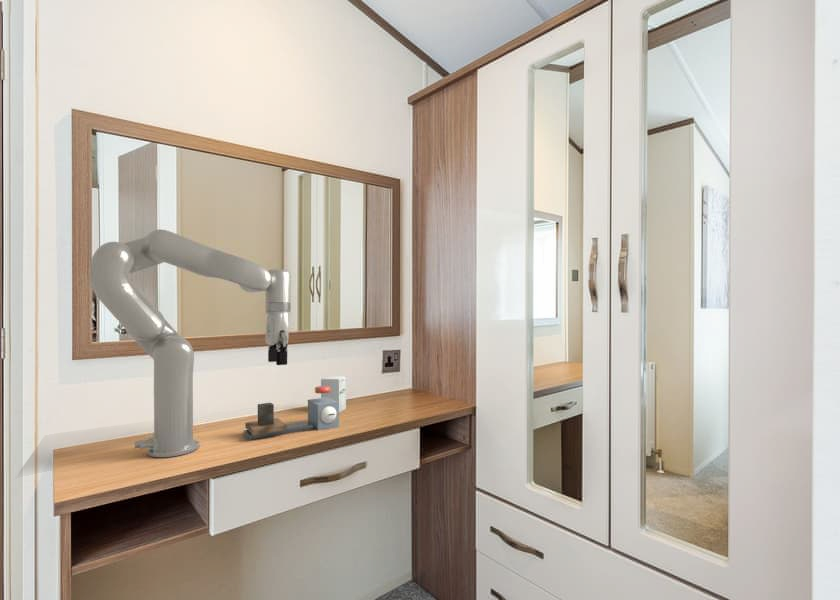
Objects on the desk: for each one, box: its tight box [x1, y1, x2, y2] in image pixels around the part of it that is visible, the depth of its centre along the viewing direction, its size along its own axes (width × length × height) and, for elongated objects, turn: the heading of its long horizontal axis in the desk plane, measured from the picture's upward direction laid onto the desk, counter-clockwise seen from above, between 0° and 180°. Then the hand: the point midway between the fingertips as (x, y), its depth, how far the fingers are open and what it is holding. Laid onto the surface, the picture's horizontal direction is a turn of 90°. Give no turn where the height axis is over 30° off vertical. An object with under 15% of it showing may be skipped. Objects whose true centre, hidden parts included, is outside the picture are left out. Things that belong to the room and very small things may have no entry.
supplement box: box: [320, 375, 347, 414], centre depth 168 cm, size 7×7×13 cm
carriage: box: [244, 402, 287, 435], centre depth 138 cm, size 10×10×8 cm
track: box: [242, 420, 314, 441], centre depth 140 cm, size 20×6×2 cm, turn 123°
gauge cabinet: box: [307, 397, 340, 431], centre depth 148 cm, size 7×10×8 cm
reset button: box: [314, 385, 330, 394], centre depth 148 cm, size 5×5×2 cm
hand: (277, 363), depth 140 cm, fingers open, 9 cm apart
